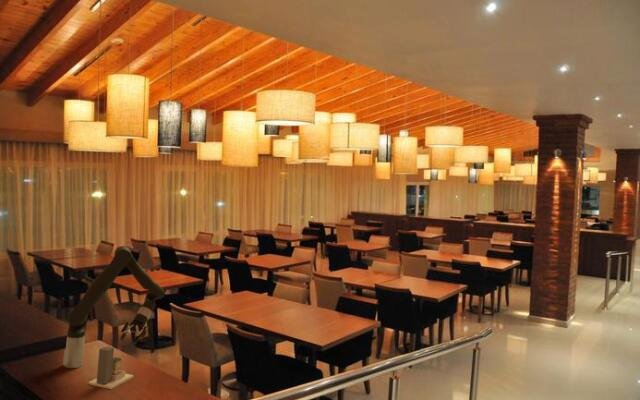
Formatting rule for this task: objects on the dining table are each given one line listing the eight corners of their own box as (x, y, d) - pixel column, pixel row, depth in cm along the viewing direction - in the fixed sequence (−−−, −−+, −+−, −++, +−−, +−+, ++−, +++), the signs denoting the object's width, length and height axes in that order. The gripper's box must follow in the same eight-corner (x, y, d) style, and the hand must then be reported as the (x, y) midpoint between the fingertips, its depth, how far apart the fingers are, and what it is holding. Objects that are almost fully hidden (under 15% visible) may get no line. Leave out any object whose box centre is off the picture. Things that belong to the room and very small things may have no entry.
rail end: (108, 377, 262) (110, 359, 262) (113, 375, 266) (114, 357, 266) (114, 379, 261) (116, 360, 261) (119, 376, 265) (121, 358, 265)
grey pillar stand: (88, 384, 254) (91, 347, 254) (111, 372, 272) (114, 338, 272) (111, 389, 251) (114, 352, 250) (133, 377, 268) (136, 343, 268)
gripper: (129, 311, 282) (114, 335, 271) (150, 315, 279) (136, 340, 268) (134, 318, 288) (119, 342, 277) (155, 322, 284) (141, 346, 273)
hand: (128, 341), depth 272 cm, fingers open, 8 cm apart
